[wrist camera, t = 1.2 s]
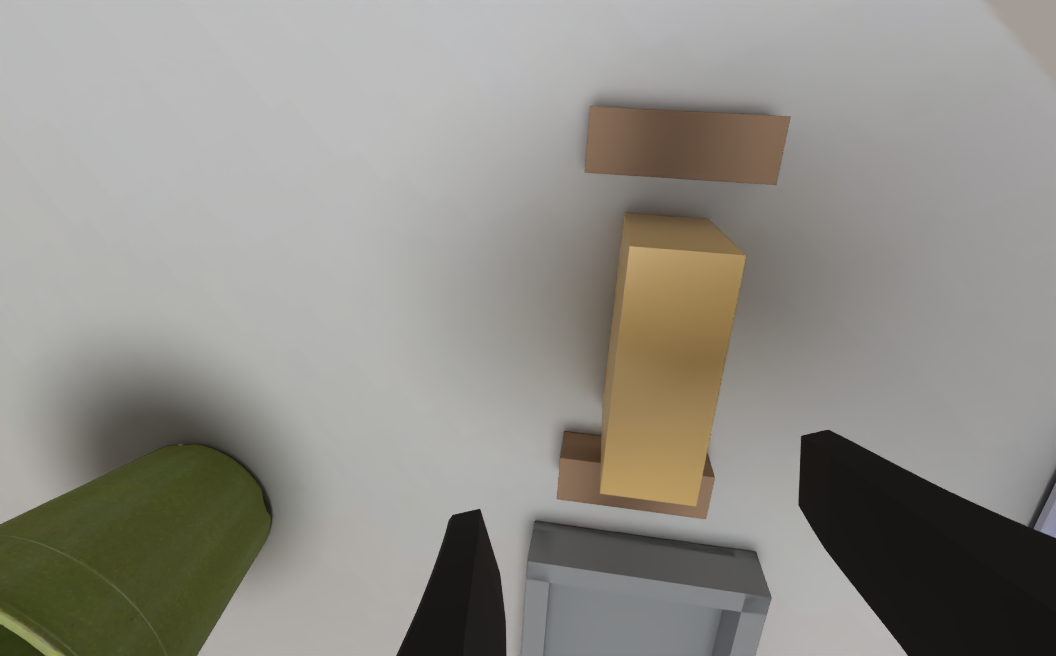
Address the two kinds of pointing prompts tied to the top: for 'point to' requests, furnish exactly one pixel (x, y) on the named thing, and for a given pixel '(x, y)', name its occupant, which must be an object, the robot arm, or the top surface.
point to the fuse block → (666, 355)
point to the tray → (639, 596)
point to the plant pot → (131, 558)
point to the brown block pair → (683, 153)
